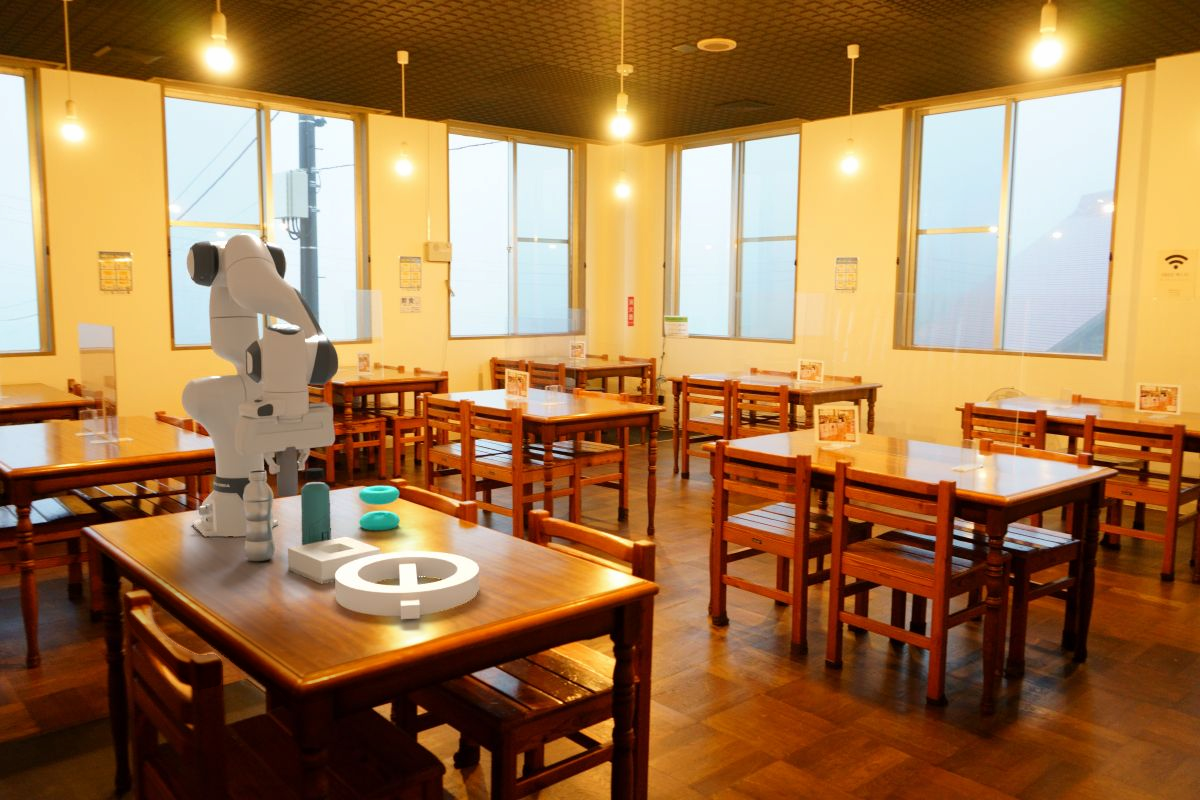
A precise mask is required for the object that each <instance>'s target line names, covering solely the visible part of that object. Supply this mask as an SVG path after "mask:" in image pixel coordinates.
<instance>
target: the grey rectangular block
mask: <svg viewBox="0 0 1200 800" xmlns="http://www.w3.org/2000/svg"><path fill="white" fill-rule="evenodd" d="M275 454H276V456H275V457H276V464H277V465H280V469H279V470H280V473H278V474H276V489H277V490H276V492H277V493H276V494H277V496H279V497H292V496H296V495H298V494H299V493H298V492H299V490H298V489H299V488H298V487H299V483H298V480H299V479H298V478H299V475H298V471H297V461H298V449H296V448H295V447H286V450H285V451H279V452H275Z"/></svg>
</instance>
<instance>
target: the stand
mask: <svg viewBox="0 0 1200 800" xmlns="http://www.w3.org/2000/svg"><path fill="white" fill-rule="evenodd" d="M379 554H382V550H381V548H380V547H376V546H374V545H371V544H369V543H366V542H363V541H360V540H357V539H354V538H351V537H348V536H342V537H337V538H333V539H332V538H331V540H326V541H321V542H316V543H311V544H306V545H302V544H301V545H297V546H291V547H288V548H287V562H288V563H287V565H288V571H290V570H291V571H290V572H292V571H293V572H292V573H295V574H297V573H298V574H297V575H299V576H301V575H302V577H304V578H306V577H307V578H306V579H308V578H309V580H311V581H313V580H314V581H313V582H315V581H316V582H315V583H318V582H319V583H318V584H320V583H326V584H328V583H327V582H330V583H333V582H332V581H335V573H336V571H337V570H338V569H339V568H340V567H342V566H343V565H345V564H347V563H349V562H352V561H354V560H357V559H361V558H364V557H368V556H373V555H379Z"/></svg>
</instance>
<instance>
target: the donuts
mask: <svg viewBox="0 0 1200 800" xmlns="http://www.w3.org/2000/svg"><path fill="white" fill-rule="evenodd" d="M358 496H359V499H360V500H361V501H362V502H363V503H365V504H367V505H368V504H369V505H374V506H376V505H377V506H381V505H388V504H391V503H394V502H395V501H397V500H398V498H399V497H400V491H399V489H397V487H395V486H391V485H372V486H367V487H364V488H362V489H360V491H359V494H358ZM400 522H401V521H400V517H399V516H398V515H397V513H394V512H392V511H388V510H375V511H369V512H366V513H365V514H362V516H361V517H360V518H359V526H360V527H361V528H362V529H364V530H367V531H375V532H376V531H387V530H392V529H394V528H396V527H398V526H399V524H400Z"/></svg>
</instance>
